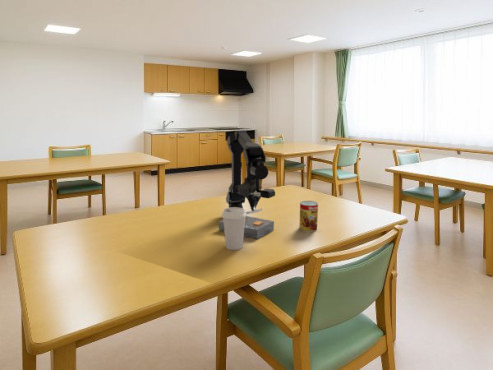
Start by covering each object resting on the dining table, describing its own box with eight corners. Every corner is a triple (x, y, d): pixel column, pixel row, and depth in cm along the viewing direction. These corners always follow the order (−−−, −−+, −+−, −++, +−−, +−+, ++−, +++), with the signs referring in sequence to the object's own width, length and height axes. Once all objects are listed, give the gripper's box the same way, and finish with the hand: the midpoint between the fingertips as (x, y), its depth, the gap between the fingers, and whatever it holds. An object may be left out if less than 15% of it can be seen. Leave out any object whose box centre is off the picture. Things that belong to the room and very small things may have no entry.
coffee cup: (221, 242, 148) (221, 206, 145) (245, 242, 149) (245, 206, 146) (222, 252, 139) (221, 213, 135) (247, 251, 139) (247, 213, 136)
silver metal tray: (218, 230, 163) (218, 217, 161) (237, 222, 174) (237, 210, 173) (257, 239, 152) (257, 225, 151) (273, 229, 163) (274, 217, 162)
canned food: (313, 232, 160) (314, 206, 157) (296, 229, 164) (297, 203, 161) (319, 227, 166) (320, 202, 164) (303, 224, 170) (304, 199, 168)
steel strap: (230, 218, 165) (229, 216, 165) (233, 216, 167) (233, 214, 167) (258, 211, 156) (258, 209, 156) (262, 210, 158) (261, 208, 158)
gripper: (224, 175, 154) (224, 211, 158) (262, 180, 144) (261, 218, 147) (239, 171, 163) (239, 205, 167) (276, 176, 153) (275, 212, 156)
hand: (253, 210), depth 159 cm, fingers closed
